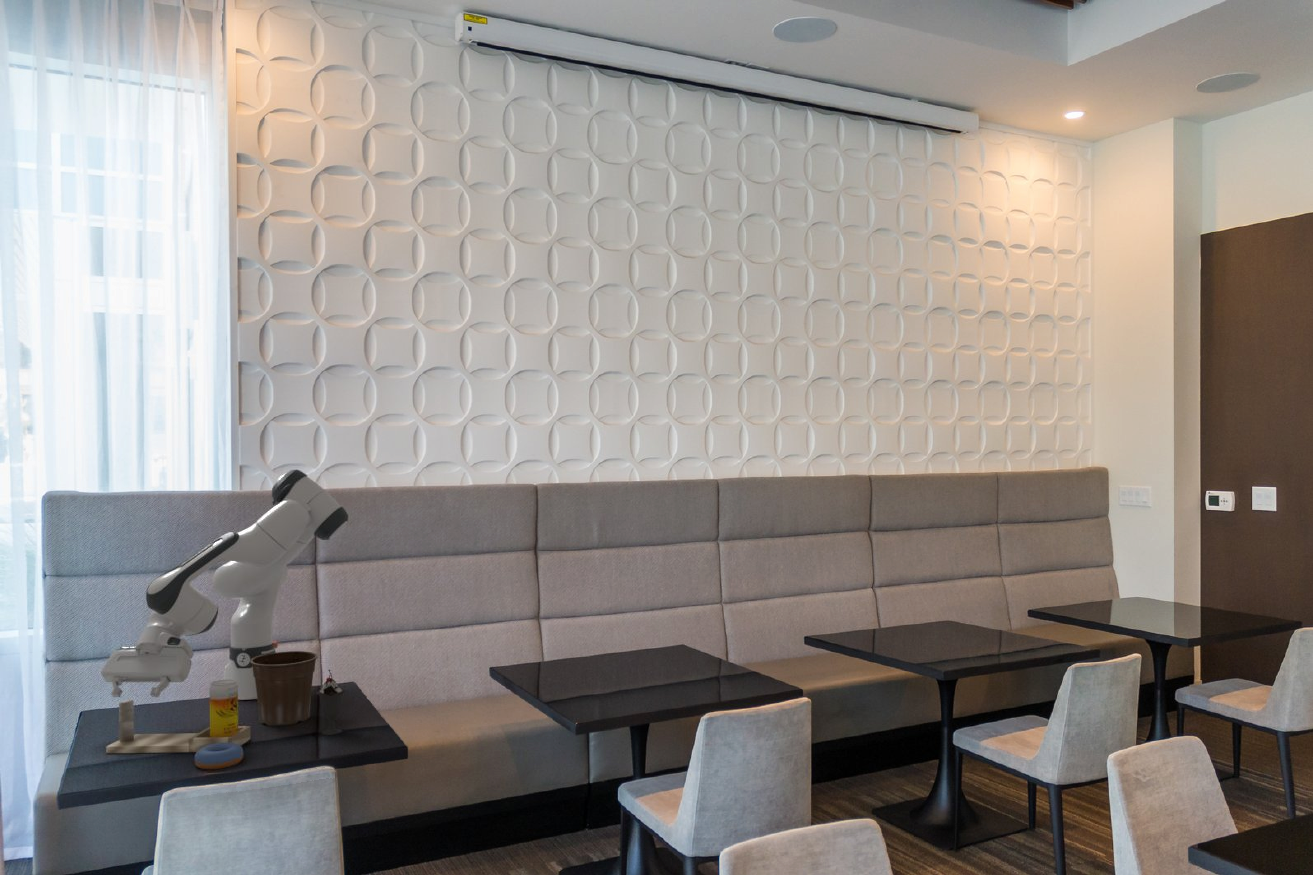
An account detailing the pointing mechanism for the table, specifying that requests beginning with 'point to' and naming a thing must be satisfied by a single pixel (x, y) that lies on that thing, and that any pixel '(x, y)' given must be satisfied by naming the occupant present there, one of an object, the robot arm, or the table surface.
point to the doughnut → (218, 756)
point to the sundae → (331, 703)
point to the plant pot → (284, 686)
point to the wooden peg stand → (165, 737)
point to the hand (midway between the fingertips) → (134, 695)
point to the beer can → (223, 708)
